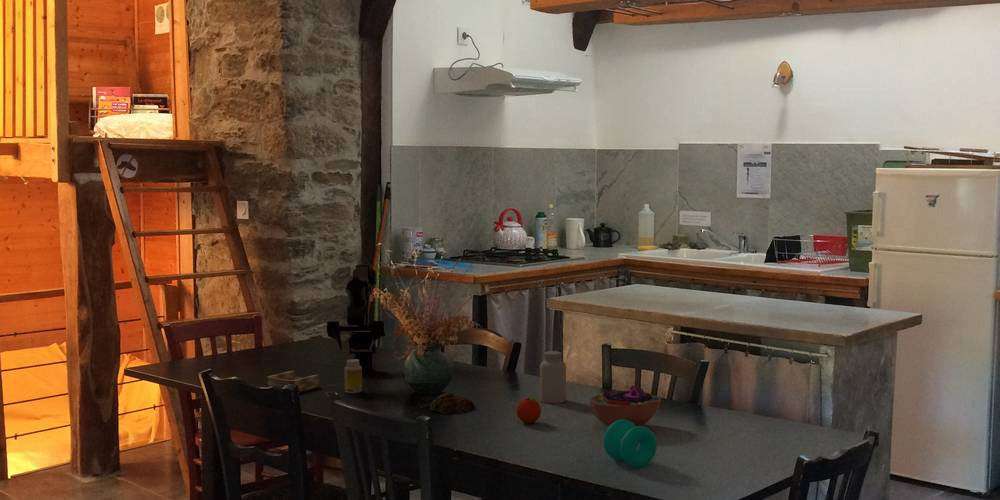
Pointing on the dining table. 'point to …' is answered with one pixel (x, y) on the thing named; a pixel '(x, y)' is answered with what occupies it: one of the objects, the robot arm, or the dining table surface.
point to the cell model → (625, 406)
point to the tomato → (528, 410)
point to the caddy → (293, 380)
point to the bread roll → (451, 404)
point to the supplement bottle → (353, 376)
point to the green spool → (630, 443)
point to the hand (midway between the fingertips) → (354, 350)
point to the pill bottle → (552, 378)
